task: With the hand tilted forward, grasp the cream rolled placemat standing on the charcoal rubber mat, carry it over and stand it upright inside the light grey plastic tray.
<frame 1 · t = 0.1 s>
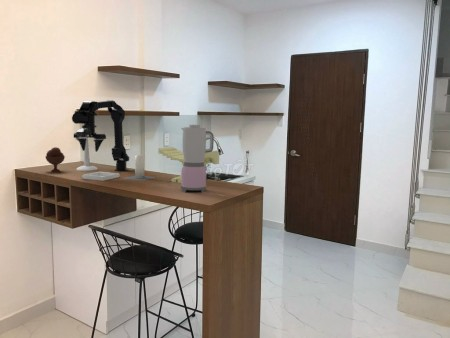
hand: (90, 151, 211), 15 cm above the table, tool pointing down, fingers open, 9 cm apart
ice cream bowl: (55, 171, 227), on the table
grey tray: (101, 178, 206), on the table
blender: (196, 190, 181), on the table
rolled placemat: (139, 177, 210), resting on rubber mat
candlestick: (87, 170, 238), on the table
slatted curved stool: (188, 181, 207), on the table
rubber mat: (139, 178, 210), on the table
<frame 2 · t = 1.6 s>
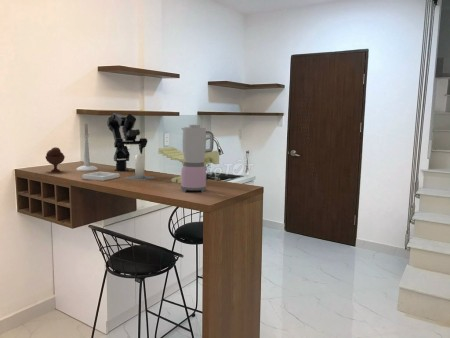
hand: (133, 154, 215), 13 cm above the table, tool tilted 45°, fingers open, 9 cm apart
nothing on the table moved.
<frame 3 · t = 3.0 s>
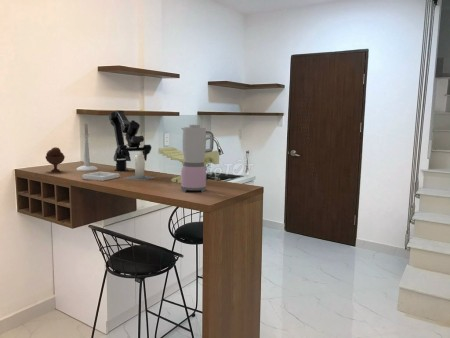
hand: (138, 160, 211), 10 cm above the table, tool tilted 45°, fingers open, 9 cm apart
nothing on the table moved.
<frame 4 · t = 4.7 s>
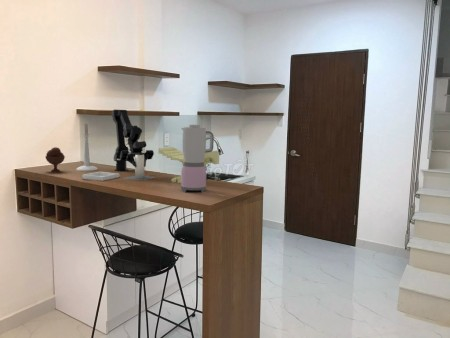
hand: (140, 166, 208), 7 cm above the table, tool tilted 45°, fingers closed on rolled placemat, 5 cm apart
rolled placemat: (139, 177, 210), resting on rubber mat, touching gripper
everything else where it was.
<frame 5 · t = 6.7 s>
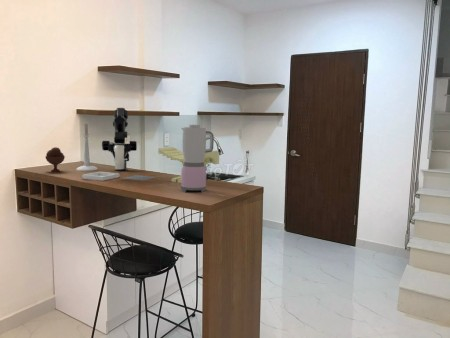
hand: (119, 157, 203), 12 cm above the table, tool tilted 45°, fingers closed on rolled placemat, 5 cm apart
rolled placemat: (119, 168, 206), point 6 cm above the table, touching gripper
everything else where it was.
when the fingers open (8 cm above the table, at t = 8.8 s): rolled placemat drops 1 cm, resting on grey tray.
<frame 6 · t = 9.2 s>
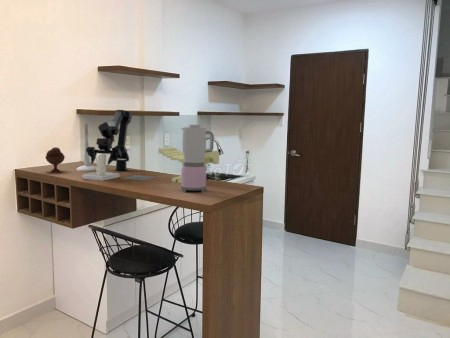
hand: (99, 163, 204), 9 cm above the table, tool tilted 45°, fingers open, 9 cm apart
rolled placemat: (101, 177, 206), point 1 cm above the table, touching grey tray
everything else where it was.
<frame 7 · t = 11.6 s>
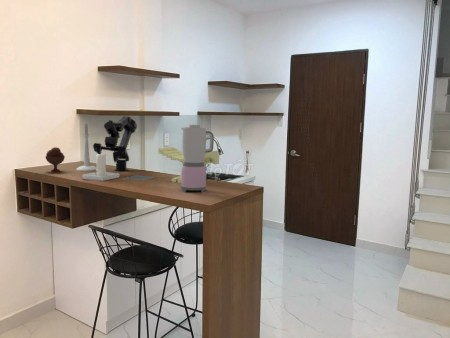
hand: (106, 161, 214), 9 cm above the table, tool tilted 40°, fingers open, 9 cm apart
nothing on the table moved.
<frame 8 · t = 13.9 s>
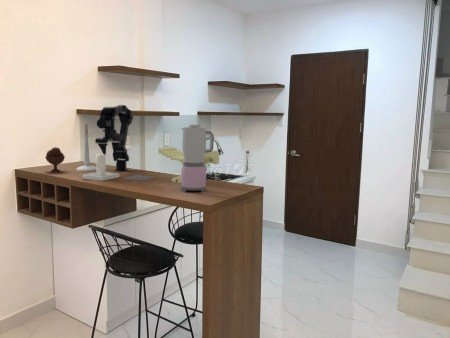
hand: (109, 154, 221), 12 cm above the table, tool pointing down, fingers open, 9 cm apart
nothing on the table moved.
at the end: rolled placemat inside the target area on the grey tray (0.0 cm from its centre), point 0.5 cm above the grey tray's base; rolled placemat tilted 1°; the gripper is holding nothing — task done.
